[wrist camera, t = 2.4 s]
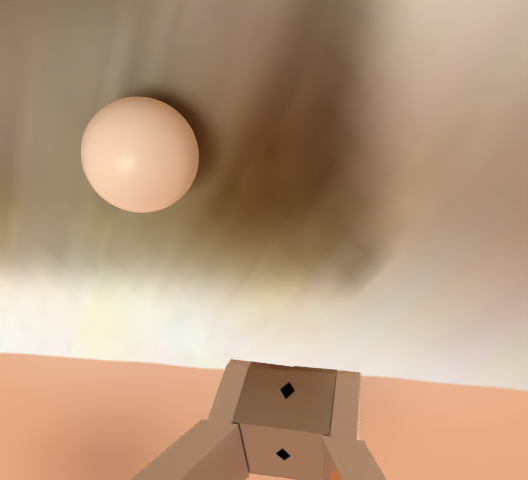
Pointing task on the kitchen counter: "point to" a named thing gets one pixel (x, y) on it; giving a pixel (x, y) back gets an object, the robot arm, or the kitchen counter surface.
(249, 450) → the robot arm
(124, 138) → the cue ball
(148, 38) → the kitchen counter surface
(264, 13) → the kitchen counter surface
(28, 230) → the kitchen counter surface
